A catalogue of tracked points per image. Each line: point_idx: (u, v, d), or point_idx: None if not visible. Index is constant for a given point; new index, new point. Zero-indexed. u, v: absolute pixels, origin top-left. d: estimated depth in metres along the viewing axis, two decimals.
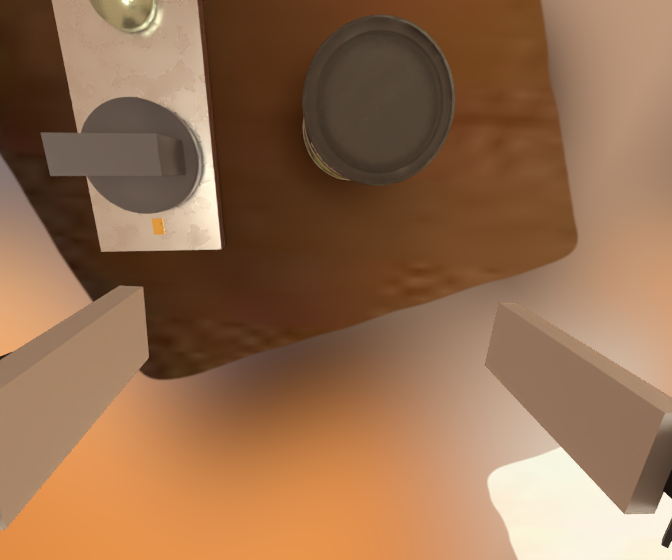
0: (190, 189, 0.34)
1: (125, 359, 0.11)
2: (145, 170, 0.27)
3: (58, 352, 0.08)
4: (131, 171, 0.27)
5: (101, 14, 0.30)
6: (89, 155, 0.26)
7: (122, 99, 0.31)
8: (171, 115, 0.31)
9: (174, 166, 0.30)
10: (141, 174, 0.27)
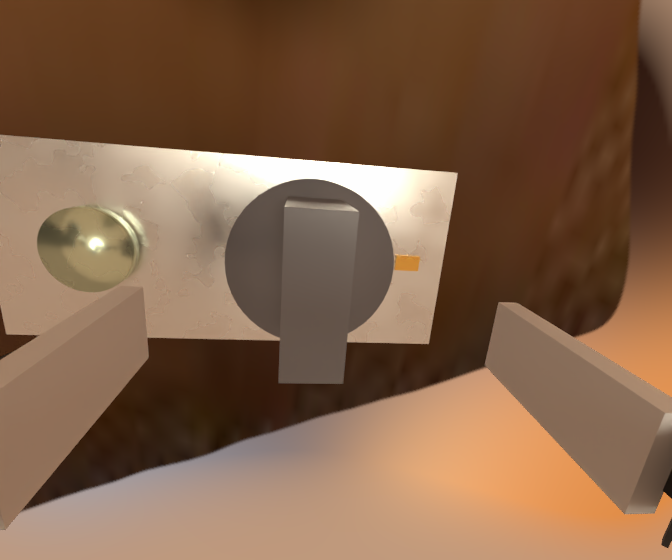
0: (363, 198, 0.20)
1: (125, 359, 0.11)
2: (346, 239, 0.15)
3: (58, 352, 0.08)
4: (346, 262, 0.15)
5: (118, 279, 0.21)
6: (316, 322, 0.16)
7: (228, 272, 0.21)
8: (250, 205, 0.20)
9: (334, 203, 0.17)
10: (353, 247, 0.15)
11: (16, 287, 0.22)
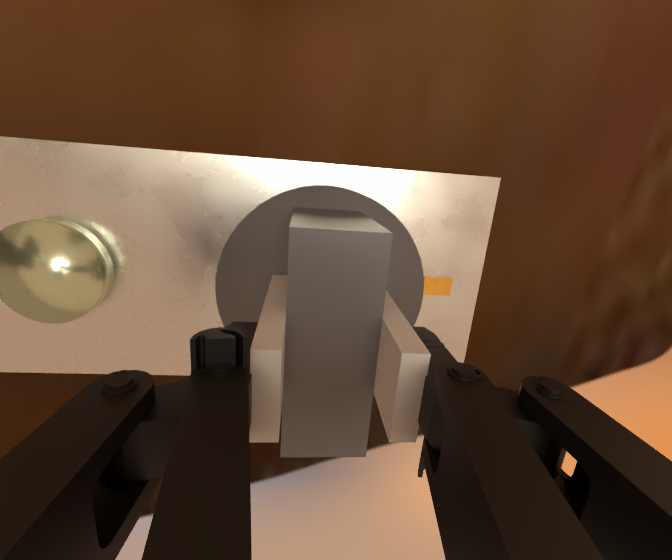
0: (387, 210, 0.16)
1: None
2: (374, 270, 0.11)
3: None
4: (373, 301, 0.11)
5: (86, 308, 0.17)
6: (331, 380, 0.12)
7: (220, 301, 0.17)
8: (247, 219, 0.16)
9: (354, 218, 0.13)
10: (384, 281, 0.11)
11: None
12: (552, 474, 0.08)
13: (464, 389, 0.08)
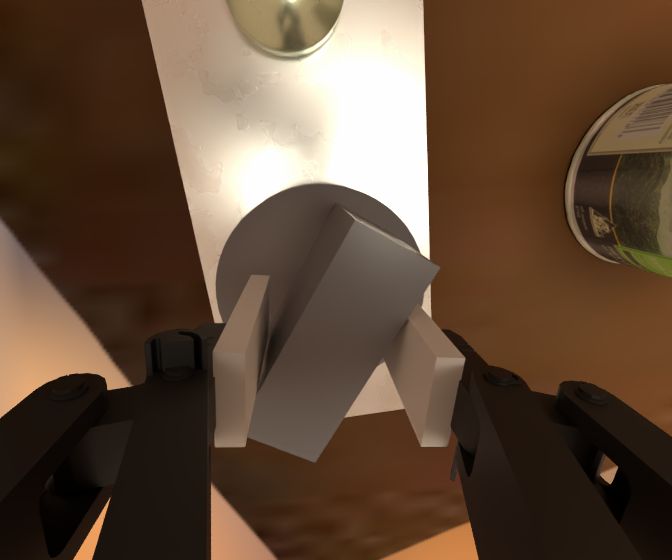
0: None
1: (265, 334, 0.14)
2: (408, 293, 0.11)
3: (256, 321, 0.10)
4: (394, 321, 0.11)
5: (250, 28, 0.14)
6: (320, 377, 0.11)
7: (224, 257, 0.16)
8: (288, 192, 0.15)
9: (394, 237, 0.14)
10: (412, 306, 0.11)
11: None
12: (591, 480, 0.08)
13: (501, 393, 0.08)
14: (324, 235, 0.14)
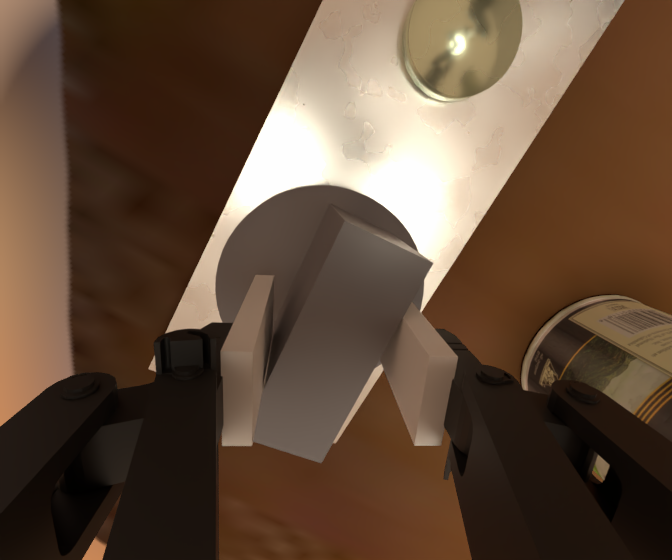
0: None
1: (269, 334, 0.14)
2: (403, 290, 0.11)
3: (262, 321, 0.10)
4: (390, 318, 0.11)
5: (414, 47, 0.15)
6: (321, 379, 0.12)
7: (222, 264, 0.16)
8: (281, 196, 0.16)
9: (389, 235, 0.14)
10: (407, 303, 0.11)
11: None
12: (582, 478, 0.08)
13: (493, 392, 0.08)
14: (319, 237, 0.14)
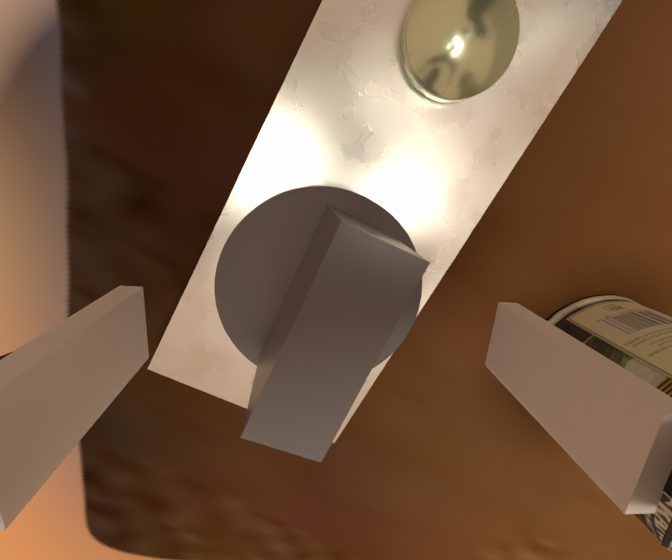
0: None
1: (125, 359, 0.11)
2: (400, 290, 0.11)
3: (58, 352, 0.08)
4: (387, 318, 0.11)
5: (412, 49, 0.15)
6: (320, 378, 0.12)
7: (221, 266, 0.16)
8: (278, 198, 0.16)
9: (386, 235, 0.14)
10: (405, 302, 0.11)
11: None
12: None
13: None
14: (316, 237, 0.14)
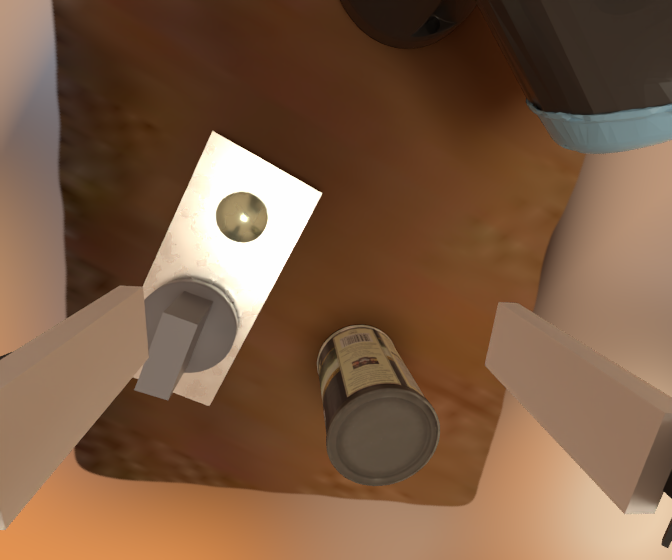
0: (226, 304, 0.37)
1: (125, 359, 0.11)
2: (188, 334, 0.31)
3: (58, 352, 0.08)
4: (185, 344, 0.31)
5: (219, 224, 0.35)
6: (162, 367, 0.31)
7: None
8: (161, 289, 0.35)
9: (199, 308, 0.33)
10: (191, 338, 0.31)
11: (238, 159, 0.35)
12: None
13: None
14: None
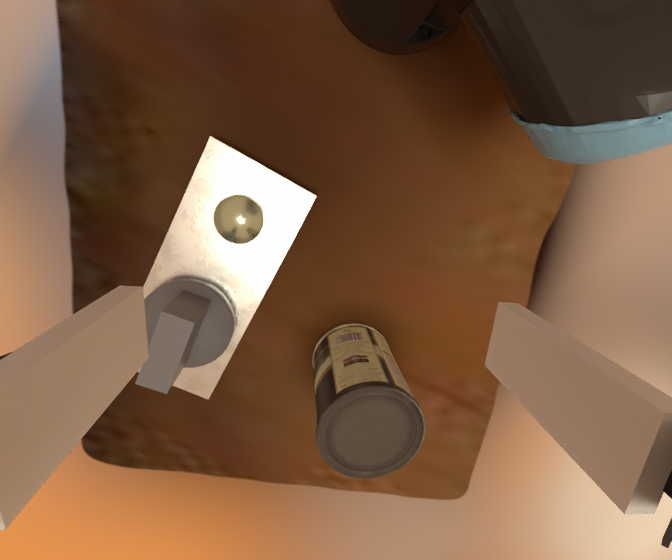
0: (224, 302, 0.38)
1: (125, 359, 0.11)
2: (186, 332, 0.32)
3: (58, 352, 0.08)
4: (183, 341, 0.33)
5: (216, 226, 0.37)
6: (162, 362, 0.33)
7: None
8: (162, 287, 0.37)
9: (197, 307, 0.35)
10: (188, 336, 0.32)
11: (235, 163, 0.36)
12: None
13: None
14: None
